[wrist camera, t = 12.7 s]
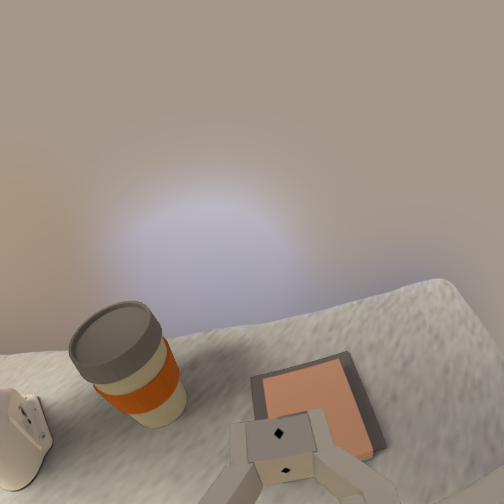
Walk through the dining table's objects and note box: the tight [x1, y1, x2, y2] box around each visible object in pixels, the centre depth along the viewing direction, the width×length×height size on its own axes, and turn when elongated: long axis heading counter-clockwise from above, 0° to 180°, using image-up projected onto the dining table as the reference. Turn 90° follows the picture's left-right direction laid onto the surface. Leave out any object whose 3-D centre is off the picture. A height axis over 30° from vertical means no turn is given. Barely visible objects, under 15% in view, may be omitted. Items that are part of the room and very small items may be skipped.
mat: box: [251, 351, 386, 452], centre depth 35 cm, size 16×14×1 cm
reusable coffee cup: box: [69, 301, 187, 428], centre depth 38 cm, size 13×13×15 cm
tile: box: [263, 359, 373, 483], centre depth 32 cm, size 2×10×14 cm
